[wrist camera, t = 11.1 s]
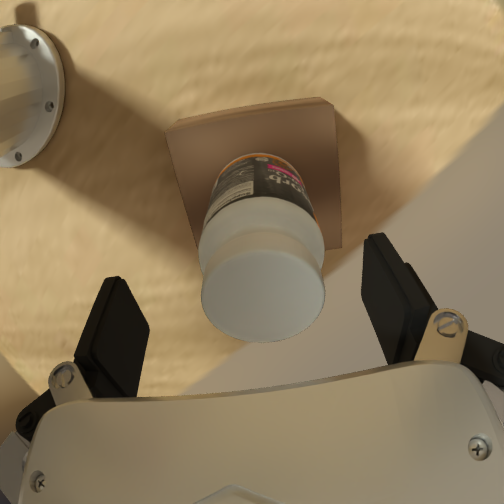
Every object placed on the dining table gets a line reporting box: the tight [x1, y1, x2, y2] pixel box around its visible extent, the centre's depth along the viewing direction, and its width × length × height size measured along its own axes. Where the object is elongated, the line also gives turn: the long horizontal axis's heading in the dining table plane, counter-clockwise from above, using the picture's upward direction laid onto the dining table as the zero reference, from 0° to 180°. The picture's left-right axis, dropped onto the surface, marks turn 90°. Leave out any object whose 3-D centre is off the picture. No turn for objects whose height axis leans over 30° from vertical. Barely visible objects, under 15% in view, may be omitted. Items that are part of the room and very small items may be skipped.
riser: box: [165, 97, 342, 250], centre depth 22 cm, size 10×10×4 cm
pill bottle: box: [198, 153, 325, 343], centre depth 16 cm, size 6×6×10 cm
